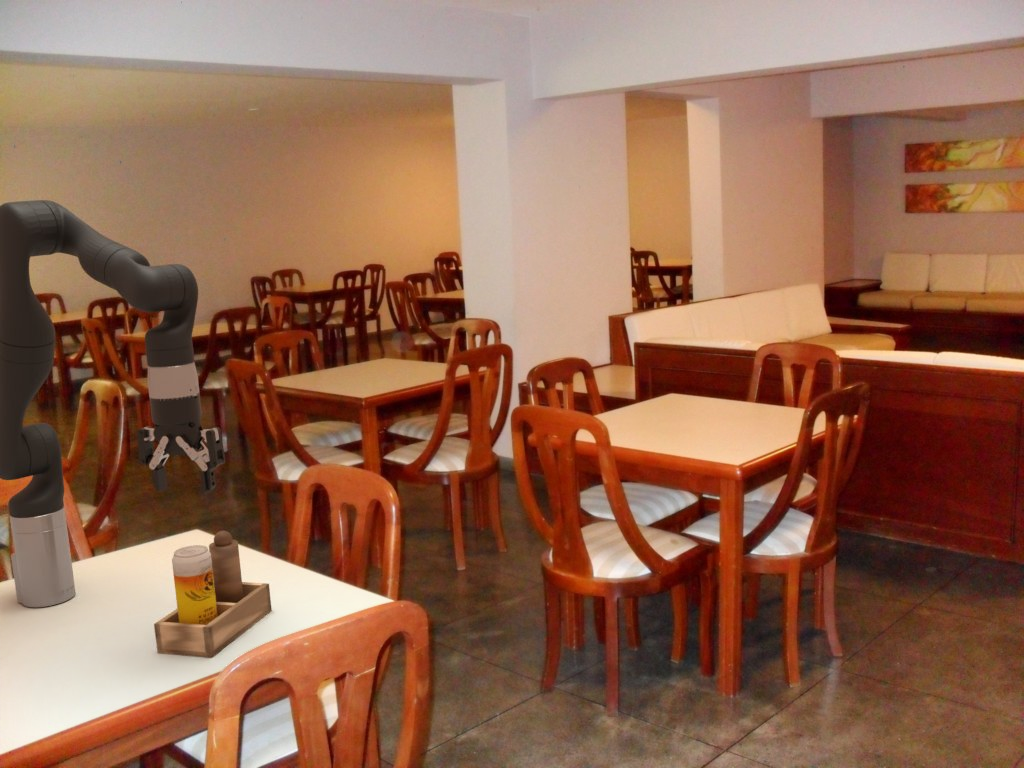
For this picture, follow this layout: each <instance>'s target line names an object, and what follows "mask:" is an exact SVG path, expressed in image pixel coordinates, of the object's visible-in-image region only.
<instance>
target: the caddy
mask: <svg viewBox="0 0 1024 768" xmlns="http://www.w3.org/2000/svg"><path fill="white" fill-rule="evenodd" d="M208 550H209V552H210V553H211V559H212V568H213V578H214V587H215V596H216V606H217V615H218V617H217V618H216V619H214V620H213V621H211V622H210V623H209V624H207V625H199V624H185V623H179V618H178V609H177V608H175V609H174V610H173V611H171V612H170V613H168V614H167V615H165V616H164V617H162V618H161V619H159V620H158V621H156V622H155V623H154V625H153V627H154V634H155V645H156V652H157V653H156V654H163V655H175V656H187V657H188V656H189V657H199V658H213V657H215V656H216V655H217V654H218V653H219V652H221V651H222V650H223V649H225V648H227V646H229V644H231V643H232V642H234V641H235V640H236V639H238V637H240V636H241V635H243V634H244V633H245V632H247V630H249V629H250V628H251V627H252V626H254V625H255V624H256V623H258V622H259V621H260V620H262V619H263V618H264V617H265V616H266V615H268V614H269V613H271V612H272V601H271V591H270V590H271V589H270V583H267V582H266V583H265V582H264V583H263V582H248V581H243V580H242V579H243V577H242V569H241V558H240V550H239V541H238V540H236V539H233V536H232V535H231V533H230V532H229V531H227V530H220V531H218V532H217V533H216V534H215V535H214V537H213V542H211V543H209V545H208Z"/></svg>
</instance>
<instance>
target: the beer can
mask: <svg viewBox="0 0 1024 768" xmlns="http://www.w3.org/2000/svg"><path fill="white" fill-rule="evenodd" d="M171 563H172V564H171V565H172V571H173V581H174V583H173V584H174V589H175V599H176V600H175V601H176V606H177V607H176V609H178V618H179V623H185V624H199V625H207V624H209V623H210V622H211V621H213V620H214V619H216V618H217V617H218V615H217V606H216V596H215V587H214V578H213V568H212V559H211V553H210V552H209V547H207V545H201V544H198V545H197V544H195V545H194V544H193V545H188V546H182V547H180V548H177V549H176V550H175V551H173V557H172V559H171Z"/></svg>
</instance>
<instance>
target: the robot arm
mask: <svg viewBox="0 0 1024 768" xmlns="http://www.w3.org/2000/svg"><path fill="white" fill-rule="evenodd" d="M54 254H65V255H69V256H73V257H76V258H77V259H78V262H79V264H80V266H81V268H82V270H83V271H84V273H86V275H88V276H89V277H90V278H91V279H93V280H95V281H96V282H98V283H100V284H102V285H104V286H106V287H109V288H110V289H112V290H114V291H116V292H117V294H119V296H121V297H122V299H123V300H125V301H126V302H127V303H128V305H130V306H131V307H132V308H133V309H136V310H138V311H140V312H145V313H157V312H158V313H159V312H163V316H162V320H161V322H160V323H159V324H158V325H156V326H153V327H152V328H149V329H148V330H147V331H146V332H145V334H144V344H145V346H144V347H145V354H146V355H145V356H146V362H147V363H146V365H147V387H148V396H149V404H150V413H151V421H152V423H153V425H154V428H153V426H151V425H147V426H145V427H143V428H140V429H137V431H136V434H137V435H136V436H137V451H138V452H137V453H138V463H139V464H140V465H141V466H146V467H149V469H150V470H151V477H152V485H153V487H154V488H155V491H156V492H164V491H166V490H168V487H169V485H168V477H167V476H168V475H167V474H168V473H167V467H166V466H165V464H166V462H167V460H168V458H169V457H171V456H172V457H173V456H181V457H189V458H190V460H191V461H193V462H195V463H196V465H197V466H198V467H199V469H200V470H201V471H200V481H201V490H202V491H201V493H203V494H210V493H212V492H213V491H214V489H215V488H216V486H217V481H216V475H215V474H216V473H215V469H216V468H217V467H219V466H221V465H223V464H225V463H226V454H225V448H224V443H223V436H222V431H221V428H220V427H217V426H215V427H213V428H209V429H208V428H207V429H204V427H203V426H202V417H203V412H202V405H201V395H200V386H199V384H200V383H199V378H198V377H199V376H198V375H199V374H198V372H197V367H196V363H195V354H194V346H193V345H194V344H193V332H194V327H195V320H196V313H197V308H198V301H199V286H198V282H197V279H196V276H195V275H194V273H193V272H192V270H191V269H190V268H189V267H187V266H186V265H183V264H181V263H170V264H162V265H161V264H160V265H159V264H157V265H151V264H150V261H149V259H148V258H146V256H145V255H143V254H141V252H138V251H137V250H135V249H133V248H131V247H128V246H126V245H124V244H121V243H120V242H117V241H115V240H114V239H111V238H108V237H107V236H105V235H103V234H101V233H100V232H99V231H97V230H96V229H95V228H93V227H92V226H90V225H89V224H88V223H86V222H85V221H84V220H82V219H81V218H79V217H78V216H76V215H75V214H74V213H73V212H71V211H70V209H68V208H66V207H64V206H63V205H61V204H59V203H57V202H56V201H52V200H48V199H45V200H44V199H39V200H22V201H19V200H18V201H9V202H5V203H2V204H1V205H0V479H1V480H4V481H14V480H19V479H24V478H27V477H31V476H32V478H31V480H30V481H29V483H28V484H27V485H26V486H25V487H24V488H23V489H21V490H20V491H19V492H17V493H15V494H14V495H13V496H11V498H10V499H9V500H8V502H7V507H8V513H9V514H8V515H9V522H10V527H11V528H10V529H11V535H12V541H13V542H12V543H13V549H14V552H13V553H11V554H10V558H11V566H12V567H11V568H12V573H13V579H14V586H15V594H16V600H17V601H16V602H17V604H18V603H19V604H22V605H23V606H24V607H28V608H44V607H51V606H55V605H58V604H62V603H64V602H67V601H68V600H71V599H72V598H73V597H75V595H76V586H75V585H76V584H75V578H74V569H73V563H72V562H73V561H72V554H71V547H70V540H69V533H68V525H67V518H66V510H65V503H64V497H65V496H64V495H65V484H64V483H65V482H64V472H63V456H62V448H61V443H60V439H59V436H58V433H57V431H56V430H55V428H54V427H53V426H52V425H51V424H49V423H46V422H37V423H36V422H35V423H31V424H27V425H23V423H24V419H25V415H26V412H27V409H28V407H29V405H30V404H31V402H32V400H33V399H34V398H35V396H36V394H37V393H38V392H39V390H40V388H41V387H42V386H43V384H44V383H45V381H46V380H47V378H48V377H49V375H50V373H51V371H52V369H53V366H54V363H55V362H54V361H55V349H56V348H55V346H56V329H55V326H54V322H53V320H52V318H51V316H50V314H49V313H48V312H47V310H46V309H45V307H44V306H43V304H42V303H41V301H40V300H39V299H38V298H37V296H36V294H35V292H34V290H33V287H32V285H31V278H30V277H31V276H30V259H31V257H32V258H33V257H40V256H49V255H54ZM203 439H204V440H203ZM154 441H157V443H158V445H157V447H156V448H155V443H154ZM203 441H204V442H205V443H206V444H207V446H206V445H205V444H204V442H203Z"/></svg>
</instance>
